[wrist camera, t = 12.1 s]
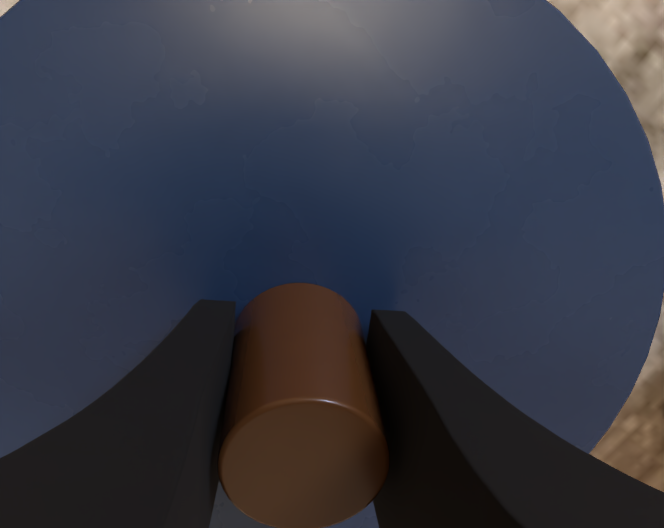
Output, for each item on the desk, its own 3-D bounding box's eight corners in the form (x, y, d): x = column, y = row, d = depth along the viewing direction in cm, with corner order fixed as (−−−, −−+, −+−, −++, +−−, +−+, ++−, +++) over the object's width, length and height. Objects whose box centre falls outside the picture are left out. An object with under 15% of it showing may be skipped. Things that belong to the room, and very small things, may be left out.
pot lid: (541, 557, 16) (626, 751, 12) (-24, 549, 15) (-138, 768, 11) (747, -30, 11) (1038, -28, 6) (-151, -146, 9) (-506, -240, 5)
